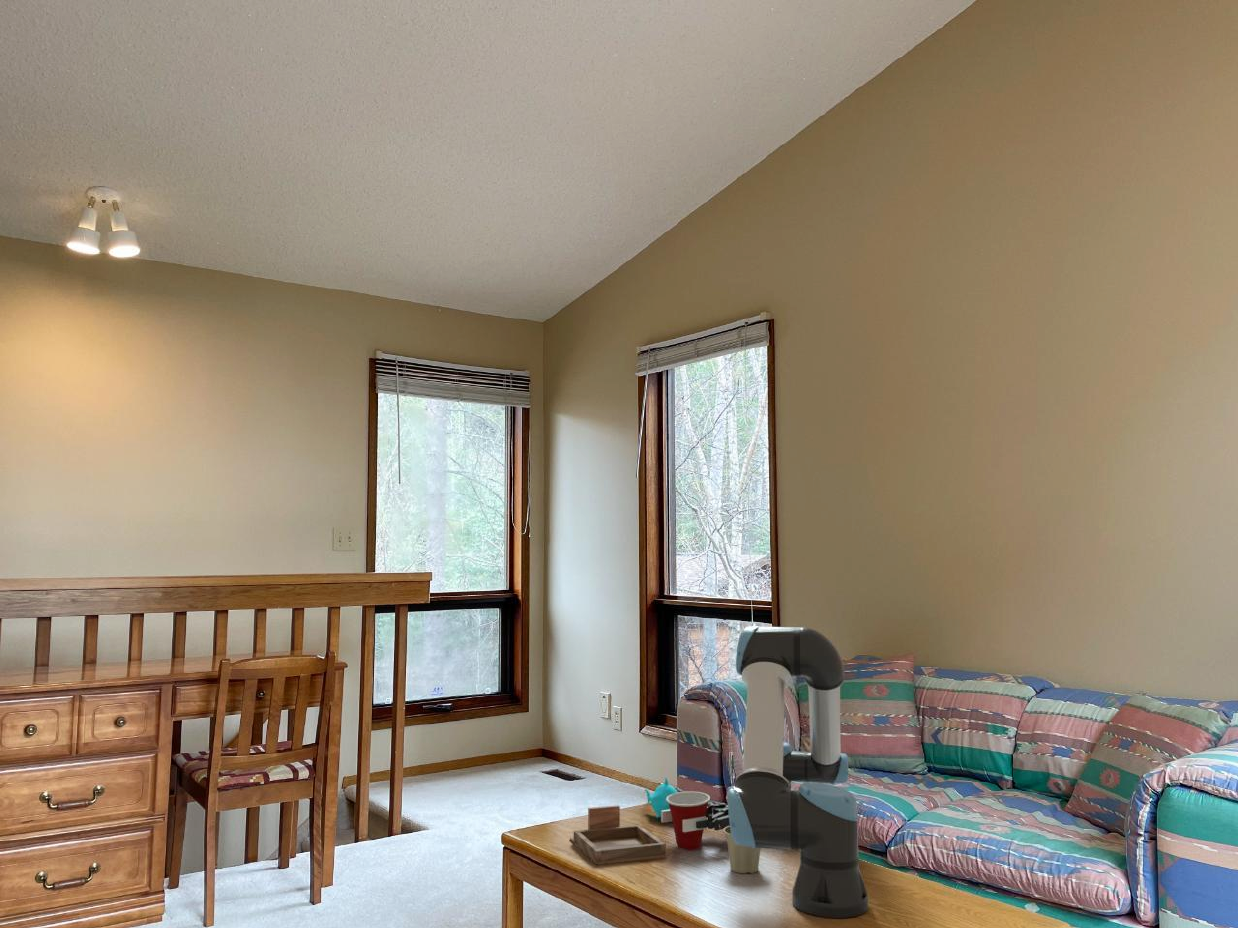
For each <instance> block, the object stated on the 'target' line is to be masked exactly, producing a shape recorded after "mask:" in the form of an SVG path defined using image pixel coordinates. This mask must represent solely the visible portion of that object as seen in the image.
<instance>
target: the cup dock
mask: <svg viewBox="0 0 1238 928" xmlns="http://www.w3.org/2000/svg"><path fill="white" fill-rule="evenodd" d="M620 807H621V806H620V805H607V806H595V807H594V806H593V807H588V808H587V813H588V815H587V816H588V817H587V829H582V830H573V837H569V841H570V840H571V841H572V842H573V843H574V844H573V843H572V842H571V841H570V842H571V843H572V844H573V845H575V846H576V847H577V849H578V850H580V852H582V853H583V854H584V855H585V856H586V855H587V856H588V857H589V858H590V860H591V861H592V862H593V863H594V862H595V863H594V864H595V865H596V864H598V865H606V864H605V863H607V864H615V863H622V862H623V863H624V862H632V861H634V862H635V861H641V860H649V859H650V860H651V859H659V858H661V859H662V858H666V857H667V844H666V842H664V841H662V840H661V839H659V837H657V836H656V835H654V834H653V833H651V832H650V831H649V830H647V829H646V828H644V827H643V826H642V825H640V824H634V825H623V826H621V824H620V822H621V820H620V819H621V818H620V812H621V810H620V809H621V808H620ZM587 856H586V857H587ZM588 857H587V858H588ZM589 858H588V859H589Z"/></svg>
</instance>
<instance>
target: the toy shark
mask: <svg viewBox="0 0 1238 928" xmlns="http://www.w3.org/2000/svg"><path fill="white" fill-rule="evenodd" d="M644 790H645V793H646V796H647V802H646V803H647V804H650V806H651V808H652V810H653V811H654V812H655V813H656V816H655V818H659V817H660V818H661V811H663V810H670V807H669V804H668V802H667V801H666V798H667V797H668V796H669V795H671V794H674V793H678V790H677V789H676V788H675V787H674V786H672V785H671V784H669V782H668V778H667V777H665V779H664V783H663V784H659V785H658V786H657V787H656V789H655V790H654V791H653V792H652V794H650V792H649V790H648V789H647V788H645V789H644Z"/></svg>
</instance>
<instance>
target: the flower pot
mask: <svg viewBox="0 0 1238 928" xmlns="http://www.w3.org/2000/svg"><path fill="white" fill-rule="evenodd" d="M722 831H723V834H725V839H726V841H727V842H726V843H727V849H728V858H729V864H730V869H731V870H732V872H735V873H739V874H747V873H750V874H753V873H756V872H757V871H758V870H759V864H760V856H761V849H762V848H752V847H746V846H739V845H736V844H735V843H734V842H733V840H732V837H731V831H730V826H728V827H725V828H724V829H722Z"/></svg>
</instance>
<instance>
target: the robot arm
mask: <svg viewBox="0 0 1238 928" xmlns="http://www.w3.org/2000/svg"><path fill="white" fill-rule="evenodd" d="M735 669H736V673H737V674H738V675H740V676H741V679H742V682H743V683H744V684H745V685H746V686H747V691H746V692H747V693H746V695H747V696H746V709H745V710H746V711H745V725H744V729H745V730H744V742H743V743H744V744H743V745H744V746H743V758H742V759H743V764H742V772H741V773H740V774H738V775H737V776H736V777H735V781H734V785H732V786H728V787H727V788H726V791H727V792H726V796H727V802H726V803H724V802H719V803H716V802H715V801H709V802H708V805H707V811H706V816H704V817H698V818H691V819H685V820H683V832H689V831H695V830H701V829H704V830H707V829H708V830H713V829H714V831H716V832H717V831H720V830H723V829H724V828H725V827H728V826H730V831H731V837H732V840H733V842H734V843H735V844H736V845H739V846H746V847H752V848H761V849H772V850H789V851H799V852H800V858H799V859H800V865H799V867H798V871H797V874H796V877H795V881H794V884H793V888H792V892H791V895H792V897H791V898H792V899H791V900H792V906H794V907H795V908H796V909H798V910H800V911H802V912H804V913H806V914H808V915H813V916H815V917H816V916H817V917H818V916H819V917H822V918H823V917H824V918H829V919H831V918H835V919H845V918H855V917H858V916H861V915H864V914H865V913H866V912H868V911H869V895H868V892H867V888H866V885H865V882H864V880H863V876H862V874H861V871H860V865H859V838H858V836H859V834H858V821H859V815H858V804H857V803H858V802H857V799H856V797H855V795H854V794H853V793H852V792H850V791H849V790H847V789H845V788H843V787H841V786H840V787H839V786H836V785H835V784H837V785H840V784H847V783H848V782H849V777H850V776H849V774H850V773H849V755H847V753H842V752H841V749H842V748H841V747H842V746H841V743H842V742H841V740H842V739H841V732H842V731H841V687H842V686H843V683H844V681H845V667H844V663H843V660H842V656H841V655H840V653H839V651H838V650H837V647H836V646H835V645H834V644H833V642H832V641H831V640H830V639H829V638H828V637H827V636H825V635H824V634H823V633H821V632H820V631H818V630H816V629H814V628H811V627H808V626H807V627H806V626H799V627H796V626H763V625H758V626H747V627H744V628H743V629H742V630H741V632H740V634H739V638H738V642H737V646H736V657H735ZM793 677H795V678H796V677H798V678H799V677H803V680H804V683H805V684H806V685H807V687H808V689H807V690H808V715H809V742H810V743H809V745H810V748H809V749H810V751H796V750H795V751H794V750H792V747H791V744H790V743H789V742H785V741H784V738H785V737H784V735H785V697H786V696H785V695H786V694H785V693H786V692H785V691H786V689H787V688H788V687H789V686H790V685H791V683H792V678H793ZM792 782H798V783H799V782H800V785H799V787H798V790H796V789H795V788H793V787H792ZM660 822H661V823H662V824H663V823H670V822H673V821H672V815H671V811H670V810H663V811H661V817H660Z"/></svg>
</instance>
